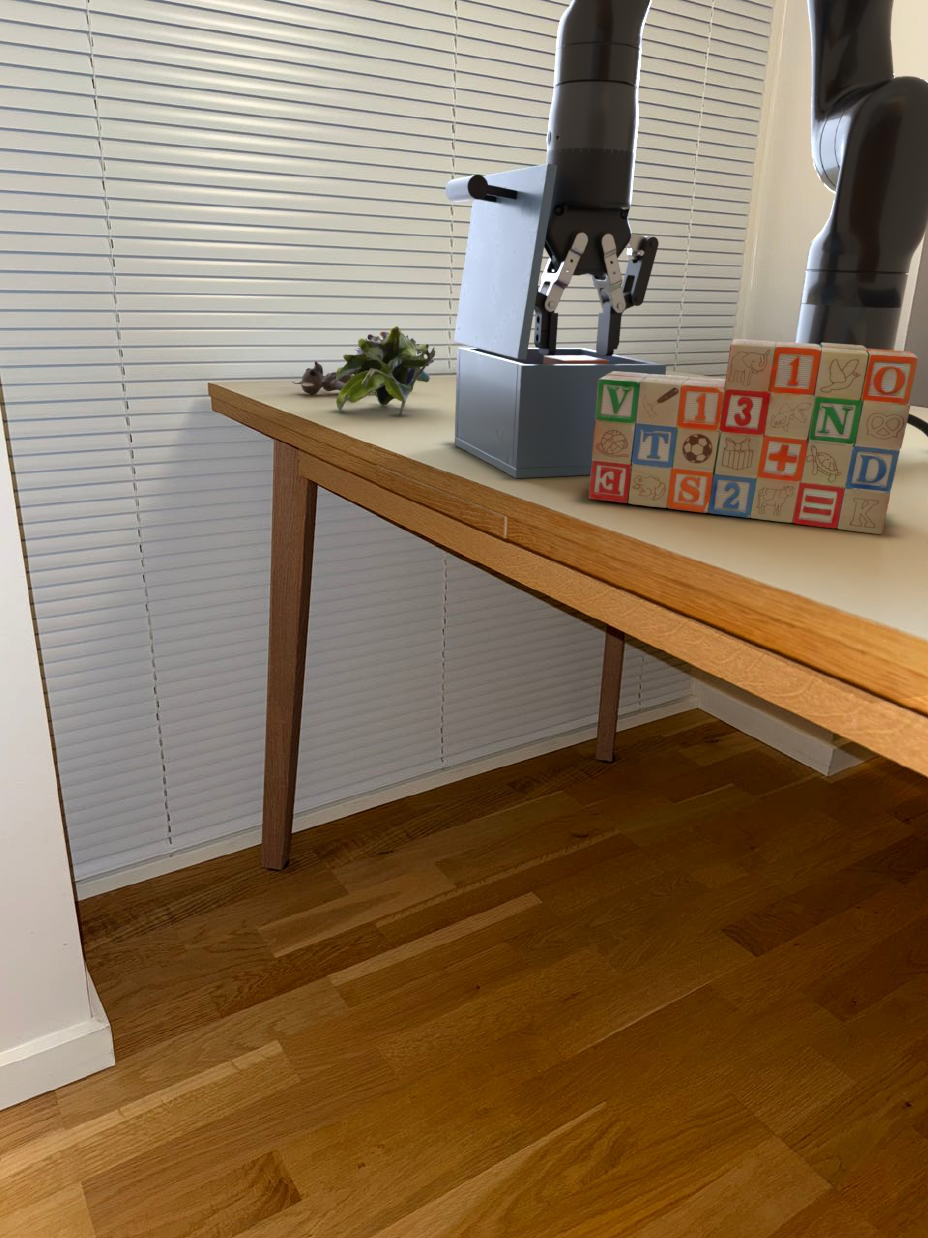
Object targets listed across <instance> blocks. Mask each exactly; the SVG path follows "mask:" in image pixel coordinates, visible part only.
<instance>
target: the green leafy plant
mask: <svg viewBox="0 0 928 1238" xmlns="http://www.w3.org/2000/svg"><path fill="white" fill-rule="evenodd" d="M379 335H380V336H381V337H380V336H378V335H373V334H372V333H371V334H370V333H369V334H368V335H367V338H362V337H360V338H358V340H357V346H358V347H357V348H356V349H355V348H354V351H356V354H343V355H342V358H343V359H344V361H345V362H346V363H345V364H344V365H343V366H340V367H337V369H336V372H337V371H338V374H337V376H336V381H338V380H339V379H341V378H342V377H343V376H348V375H353V376H352V378H351V379H350V380H349V381H348V382H347V383H346V384H345V386H343V388H342V389H341V391H340V390H339V393H338V395H337V398H336V401H335V403H336V407H337V409H338V411H339V412H340V413H341V412H342V411H343V408H344V406H345V404H346V403H347V401H348V402H350V403H351V404H356V403H357V402H358V401H360V400H362V399H364V398H366V397H367V396H368V395H370V394H372V393H373V392H375V396H376V399H377V400H376V401H377V402H378V403H379V405H381V406H382V407H384V406H387V405H389V404H390V402H392V400H395V399H396V400H397V401H400V402H401V406H400V411H399V415H398V416H400V417H402V415H403V411H404V409H405V406H406V403H407V400H408V398H409V395H410V393H411V392H412V391H413V390H414V385H415V383H416V381H417V382H424V383H429V381H430V379H431V376H430V375H429V374H428V373H427V372H426V371H424V370H425V369H426V367H429V366H430V365H431V364H432V363H434V362H435V360H434V358H435V356H436V350H435V346H433V347H432V348H431V350H430V351H429V347H430V345H429V344H428V343H424V344H421V345H420V344H419V343H417V342H416V340H415V339H414V338H413V337H411V338H409V334H407V335H405V334H404V333H403V332H402V330H401V328H400V327H399V326H398V325H396V326H395V327H394V326H393V327H392V328H391V329H390V330H389V332H388V331H380V332H379ZM425 355H426V357H425Z"/></svg>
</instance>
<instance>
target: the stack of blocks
mask: <svg viewBox="0 0 928 1238" xmlns="http://www.w3.org/2000/svg"><path fill="white" fill-rule="evenodd" d="M728 352H729V354H728V361H727V366H726V373H725V378H724V379H721V378H708V377H707V378H706V377H691V376H684V375H672V374H671V375H670V374H665V375H659V374H644V373H632V372H618V371H613V372H611V373H609V374H606V376H604V377H602V378H600V379H599V381H598V391H597V403H596V415H595V420H596V424H595V431H594V441H593V451H592V460H593V461H592V468H591V475H589V477H590V478H589V485H588V488H589V489H588V499H591V500H599V501H606V502H607V501H608V502H614V503H615V502H616V503H625V504H626V503H628V504H631V505H635V506H636V505H638V506H645V507H652V508H654V507H655V508H664V509H665V508H668V509H672V510H680V511H687V512H695V513H704V514H706V513H707V514H708V513H709V514H712V515H713V514H714V515H722V516H728V517H729V516H731V517H739V518H748V519H750V518H751V519H756V520H763V521H773V522H780V523H788V524H789V523H790V524H791V523H793V524H797V525H804V526H812V527H819V528H825V529H826V528H827V529H838V530H844V531H851V532H857V533H858V532H860V533H866V534H867V533H868V534H876V535H882V534H883V531H884V526H885V522H886V517H887V512H888V508H889V502H890V498H891V491H892V487H893V483H894V478H895V475H896V470H897V465H898V462H899V458H900V453H901V449H902V446H903V443H904V438H905V434H906V428H907V424H908V423H907V420H908V416H909V414H910V411H911V410H910V409H911V403H910V402H909V401H910V398H911V394H912V389H913V385H914V380H915V376H916V371H917V367H918V362H919V357H918V356H917V355H916V354H915V353H912V352H911V351H907V350H895V349H894V350H881V349H868V348H865V347H864V346H862V345H848V344H834V343H820V345H818V344H809V343H794V342H793V341H791V342H787V341H772V340H759V339H758V340H757V339H744V338H743V339H742V338H734V339H733V341H732V342H731V344H730V347H729V351H728Z"/></svg>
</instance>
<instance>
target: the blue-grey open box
mask: <svg viewBox="0 0 928 1238" xmlns="http://www.w3.org/2000/svg"><path fill="white" fill-rule="evenodd" d="M456 349H457V350H456V381H455V383H456V384H455V412H454V413H455V416H454V418H455V419H454V445H455V446H456V447H458V448H460V449H462V450H464V451H466V452H467V453H469V454H471V455H473V456H474V457H477V458H478V459H480V460H481V461H484V462H485V463H488V465H491V466H493V467H495V468H497V469H498V470H500V471H502V472H503V473H505V474H507V475H509V476H510V477H513V478H515V479H528V478H550V477H570V476H572V477H573V476H591V468H592V461H593V460H592V451H593V441H594V431H595V424H596V420H595V415H596V403H597V391H598V381H599V379H600V378H602V377H604V376H606V374H609V373H611V372H613V371H618V372H632V373H644V374H659V375H667V373H666V372H667V364H664V363H659V362H653V361H650V360H645V359H639V358H635V357H629V356H625V355H619V354H615V353H613V355H612V356H602V355H598V354H597V353H596V349H590V348H586V347H556V353H555V355H587V356H591V357H596V358H601V359H605V360H609V364H543V358H544V356H545V355H541V354H540V353H539V348H536V347H528V351H527V358H526V360H521V359H516V358H512V357H508V356H504V355H500V354H497V353H493V352H489V351H485V350H481V349H477V348H474V347H457V348H456ZM555 355H554V356H555Z"/></svg>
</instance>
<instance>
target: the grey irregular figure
mask: <svg viewBox="0 0 928 1238" xmlns="http://www.w3.org/2000/svg"><path fill="white" fill-rule="evenodd" d="M337 374H338V371H337V370H336V371H332V372H330V373H327V374H326V375H324V369H323V366H322V364H320V363H318V362H317V361H314V366H313V368H310V367H308V368H306V369H305V372H304V373H303V375H302V377H301V381H300V380H296V381H291V383H292V384H294V385H300V386H301V389H302V391H303V392H304V393H305V394H307V395H310V396H311V395H312V396H315V395H316V394H318V393H319V391H320V390H321V389H323V390H324V391H326V392H332V391H339V392H340V391H341V389H342V388H343V386H345V384H346V383H347V382H348V381H349V380H350V379H351V378H352V376H354V375H348V376H343V377H342V378H341V379H339V380H338V381H336V376H337Z"/></svg>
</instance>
